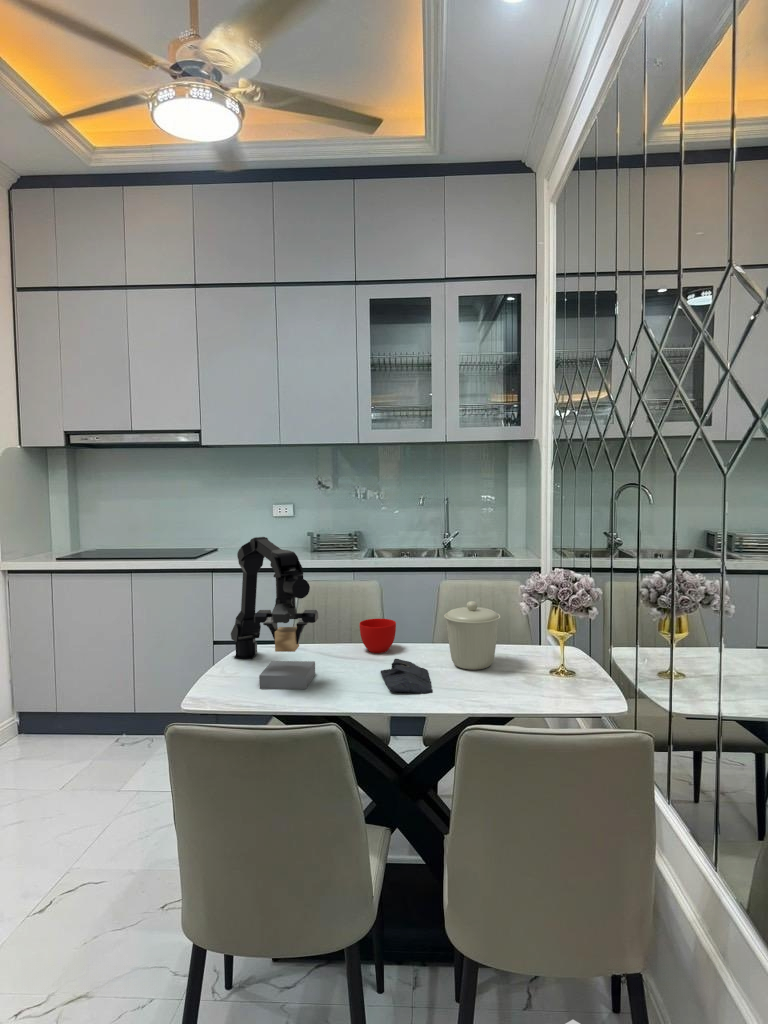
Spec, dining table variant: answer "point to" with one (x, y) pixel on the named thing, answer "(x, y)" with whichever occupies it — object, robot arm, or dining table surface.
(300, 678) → the slate pedestal
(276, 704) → the dining table surface
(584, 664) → the dining table surface
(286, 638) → the oak block
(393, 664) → the dark slate chunk
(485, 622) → the canister
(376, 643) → the ceramic cup
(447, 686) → the dining table surface
